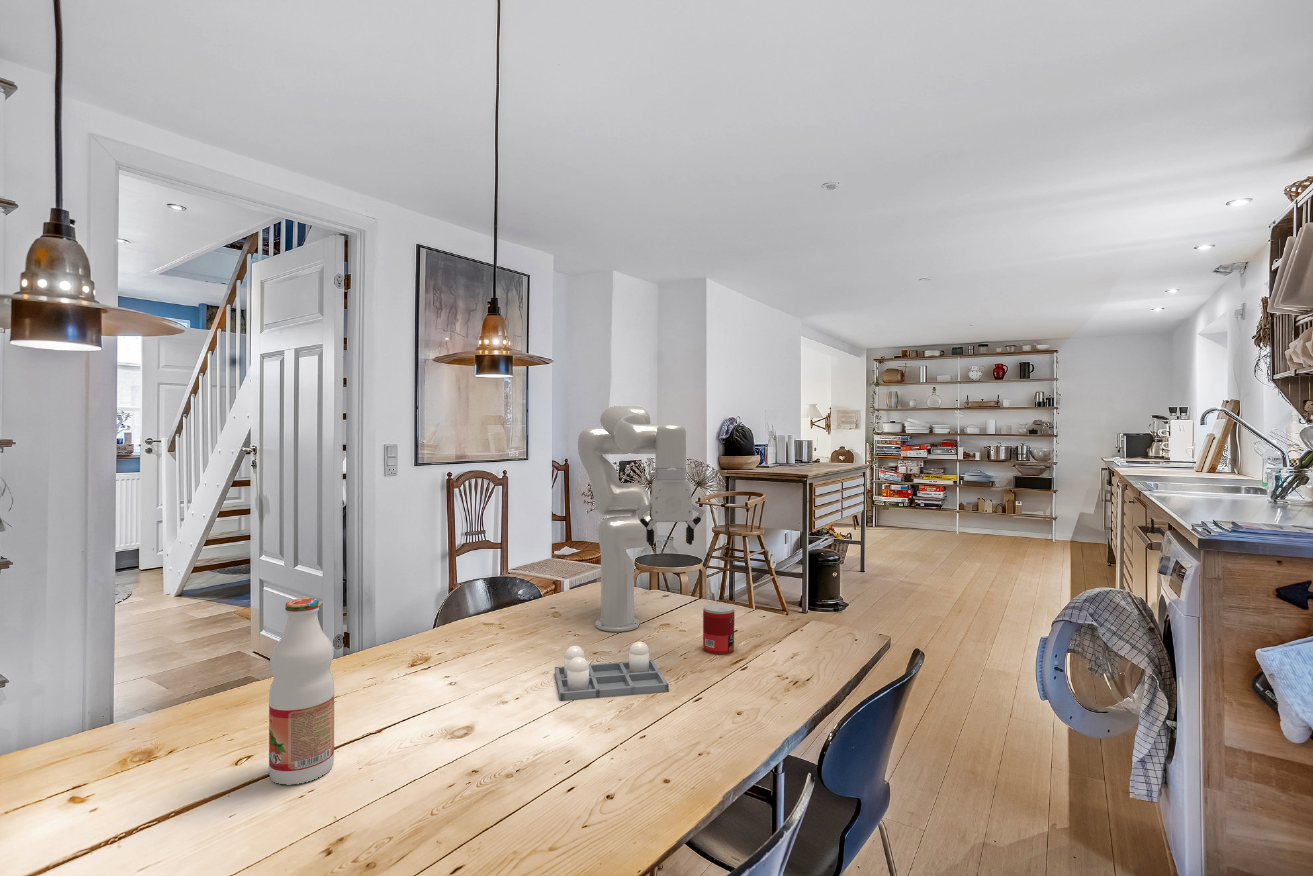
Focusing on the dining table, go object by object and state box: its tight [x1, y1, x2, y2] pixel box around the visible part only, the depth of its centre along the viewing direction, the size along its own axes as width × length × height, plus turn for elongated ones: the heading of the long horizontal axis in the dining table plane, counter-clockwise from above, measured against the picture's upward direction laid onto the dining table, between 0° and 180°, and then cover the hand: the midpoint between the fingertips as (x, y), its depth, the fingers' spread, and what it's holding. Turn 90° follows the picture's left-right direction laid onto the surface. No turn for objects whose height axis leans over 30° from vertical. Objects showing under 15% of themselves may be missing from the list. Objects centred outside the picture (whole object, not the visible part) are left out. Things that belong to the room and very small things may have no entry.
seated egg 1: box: [563, 645, 586, 678], centre depth 147 cm, size 5×5×7 cm
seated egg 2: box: [567, 657, 590, 691], centre depth 140 cm, size 5×5×7 cm
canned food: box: [702, 603, 735, 655], centre depth 168 cm, size 8×8×11 cm
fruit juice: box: [268, 597, 335, 786], centre depth 107 cm, size 9×9×28 cm
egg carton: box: [554, 659, 670, 702], centre depth 145 cm, size 16×23×2 cm
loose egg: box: [628, 641, 650, 673], centre depth 150 cm, size 5×5×7 cm
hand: (670, 544), depth 161 cm, fingers open, 9 cm apart
